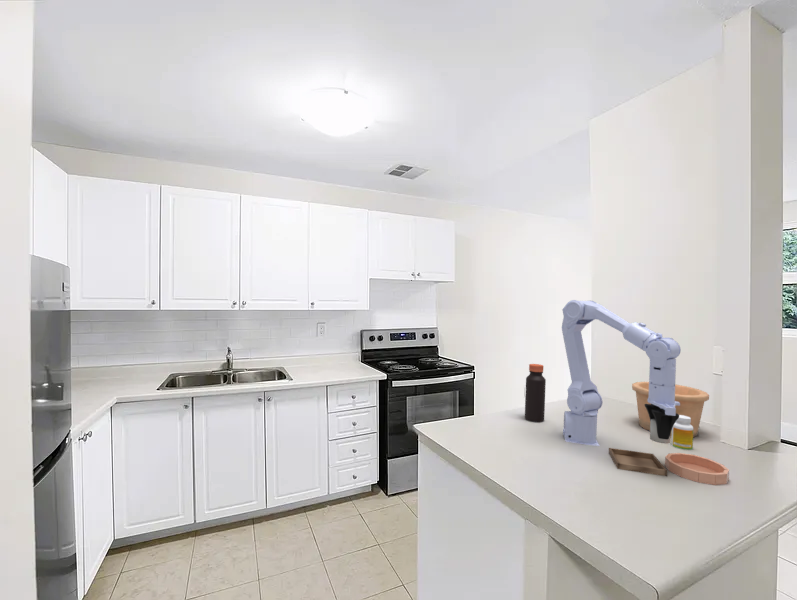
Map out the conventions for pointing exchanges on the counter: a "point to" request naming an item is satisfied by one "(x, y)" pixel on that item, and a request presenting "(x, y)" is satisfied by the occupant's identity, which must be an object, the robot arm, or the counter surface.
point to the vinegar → (535, 394)
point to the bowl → (697, 468)
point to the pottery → (689, 406)
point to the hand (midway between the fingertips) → (660, 435)
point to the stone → (654, 433)
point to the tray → (637, 462)
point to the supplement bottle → (682, 433)
